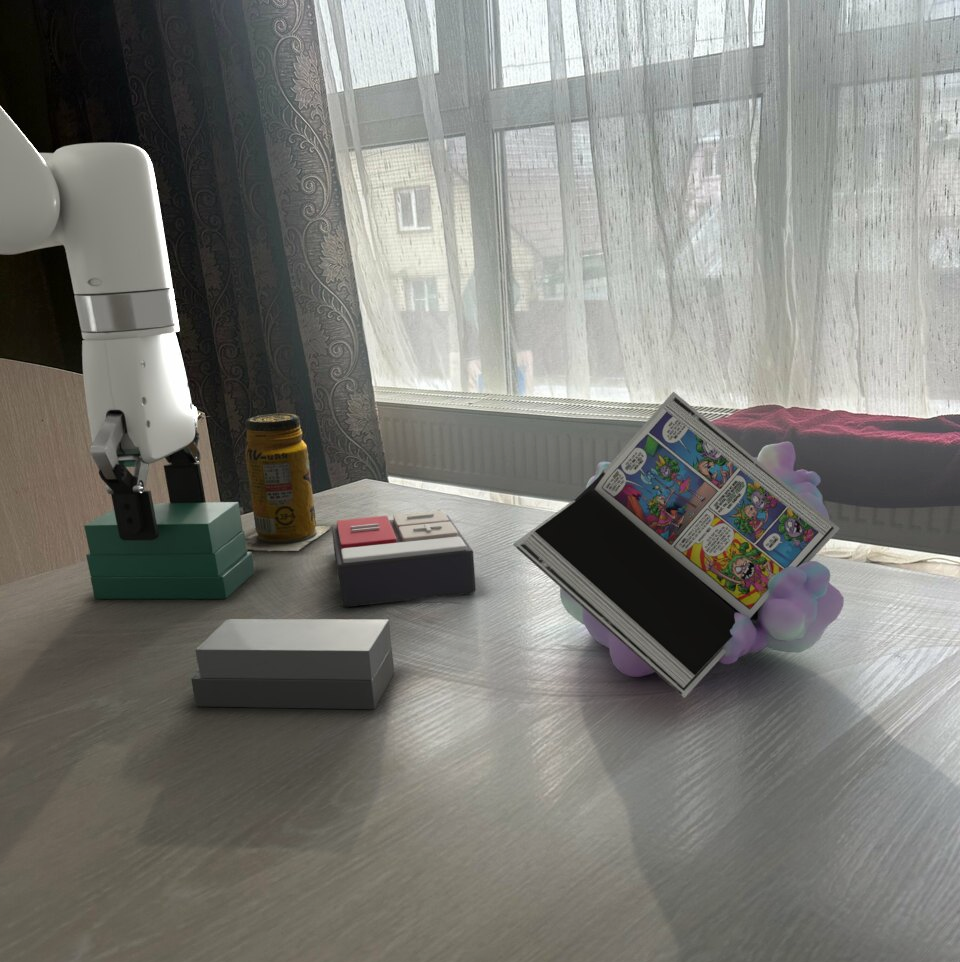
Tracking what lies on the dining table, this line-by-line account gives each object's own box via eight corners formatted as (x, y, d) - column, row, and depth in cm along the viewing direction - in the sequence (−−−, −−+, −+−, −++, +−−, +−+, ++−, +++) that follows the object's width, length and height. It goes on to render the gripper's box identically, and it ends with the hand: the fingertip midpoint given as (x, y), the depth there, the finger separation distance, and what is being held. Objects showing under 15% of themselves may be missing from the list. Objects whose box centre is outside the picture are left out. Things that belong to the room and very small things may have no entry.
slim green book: (89, 555, 85) (83, 525, 84) (128, 531, 91) (122, 503, 90) (212, 553, 83) (207, 523, 82) (242, 530, 90) (238, 501, 89)
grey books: (195, 706, 65) (185, 650, 64) (228, 671, 70) (219, 618, 69) (374, 709, 63) (368, 651, 62) (394, 673, 68) (389, 618, 67)
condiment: (332, 527, 104) (318, 410, 99) (298, 552, 96) (282, 427, 91) (268, 526, 105) (252, 411, 101) (229, 550, 98) (210, 427, 93)
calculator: (447, 505, 95) (473, 541, 81) (450, 550, 96) (476, 592, 82) (330, 517, 93) (336, 556, 79) (335, 562, 94) (342, 607, 80)
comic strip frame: (782, 519, 81) (676, 332, 73) (970, 591, 61) (851, 344, 54) (583, 674, 80) (458, 501, 73) (707, 796, 61) (553, 576, 54)
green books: (94, 599, 86) (85, 555, 85) (132, 573, 93) (123, 531, 91) (226, 599, 85) (218, 553, 83) (255, 572, 91) (248, 530, 89)
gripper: (134, 309, 89) (167, 498, 95) (24, 328, 73) (73, 553, 79) (214, 305, 87) (243, 497, 94) (121, 324, 72) (162, 553, 78)
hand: (165, 522), depth 87 cm, fingers open, 9 cm apart
